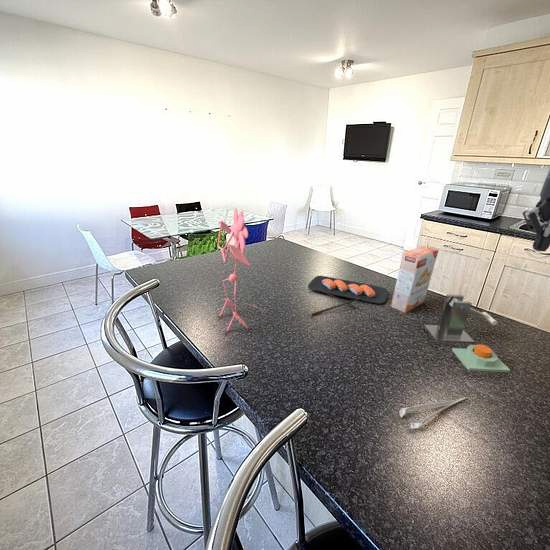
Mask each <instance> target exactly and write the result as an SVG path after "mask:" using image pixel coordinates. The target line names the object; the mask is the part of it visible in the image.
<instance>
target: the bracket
mask: <svg viewBox="0 0 550 550" xmlns="http://www.w3.org/2000/svg"><path fill="white" fill-rule="evenodd" d="M453 298H456V299H459V300H461V301H454V303H453V306H452V307H451V306H450V305H449V303H450V302H451V301H452V299H453ZM472 305H473V303H472V302H471V301H464V295H463V294H446V296H445V299H444V302H443V306H442V310H441V312H440V313H441V314H440V316H439V320H438V323H437V325H436V324H423V326H424V328H425V329H426V330H427V331H428V334H430V335H431V337H432V338H433V339H434V341H435V342H450V343H472V344H473V343H474V344H475V343H476V340H474V339H473V338H472V337H471V336H470V335H469V334H468V333H467V332H466V331H465V329H464V328H465V327H466V326H465V325H466V323H467V319H468V316H469V313H470V312H469V311H470V308H472Z"/></svg>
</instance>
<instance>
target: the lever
mask: <svg viewBox="0 0 550 550" xmlns="http://www.w3.org/2000/svg"><path fill="white" fill-rule="evenodd" d="M454 301H461V300H459V299H456V298H453V299H452V301H451V302H450V303H449V305H450V306H451V307H452V306H453V303H454ZM469 313H471V314H472V315H475V316H477V317H480V318H482V319H483V320H484V319H485V320H486V321H487V322H488V323H490V324H491V326H496V325H497V324H498V321H497V320H496V319H494V318H493V316H491V315H490V314H489V313H488V312H486V311H482V312H481V311H479V310H476V309H474V308H472V307H471V308H470V311H469Z"/></svg>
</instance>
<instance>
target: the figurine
mask: <svg viewBox="0 0 550 550" xmlns="http://www.w3.org/2000/svg"><path fill="white" fill-rule="evenodd" d="M232 215H233V217H232V219H233V221H232V222H233V224H231V225H230V226H229V225H228V224H227V223H226V222H224V221H223V220H219V230H218V231H219V232H218V237H217V244H216V246H217V249H220V252H221V255H222V260H223V263H224V264H225V265H226V264H227V261H228V256H229V257H230V258H232V259H233V260H235V264H234V270H233V271H234V272H233V273H231V274H230V275H229V276H228V278H225V279H223V280H222V284H223V289H224V292H225V296H226V297H225V298H224V300H223V301H224V302H225V303H224V305H223V307H222V310H221V312H220V314H219V317H222V316H223V313H224V312H225V309H226V307H227V306H228V307H229V308H231V309H232V314H233V316H232V318H231V321H230V322H229V325H228V327H227V329H226V331H227V332H229V330H230V329H231V326H232V324H233V322H234V321H235V319H236V320H237V321H238V323H240V325H242V326H243V328H245V329H246V330H249V327H248V325H247V324H246V323H245V321H244V320H243V319H242V318H241V316H240V315H239V314H238V312H237V293H236V291H237V282H238V280H239V276H238V275H237V274H236V272H237V266H238V262H240V263H241V264H243V265H244V266H246V267H248V268H251V265H250V262H249V261H248V259H247V258H246V256H245V255H244V254H245V250H246V239H247V238H249V230H248V229H247V227H246V226H245V222H246V221H245V218H244V211H243V210H240V211H239V213H238V209H237V207H236V208H234V209H233V214H232ZM222 230H223V231H225V233H227V234H228V235H230V237H229V238H228V240H227V242H226V244H225V245H224V247H223V248H222V247H221V246H220V242H221V236H222ZM232 239H233V241H234V245H232V244H230V242H231V240H232ZM230 252H231V253H232V254H230ZM226 281H229V282H230V283H233V284H234V291H233V292H234V293H233V298H234V304H233V302H231V300H230V299H229V295H228V293H227V288H226V284H225V282H226ZM243 304H245V305H247V303H246V302H243ZM248 305H249V306H252V307H255V308H257V309H259V310H260V311H262V309H261V308H259V307H257V304H256V305H255V304H250V303H248ZM264 315H265V316H267V314H265V313H264ZM230 342H232V340H229V343H230Z"/></svg>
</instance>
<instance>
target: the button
mask: <svg viewBox="0 0 550 550" xmlns="http://www.w3.org/2000/svg"><path fill="white" fill-rule="evenodd" d="M475 345H476V346H475V349H474V353H475V354H476V355H478V356H480V357H483V358H490V356H491V353H492V351H493V350H492V348H491V347H489V346H487V345H485V344H481V343H480V344H479V343H478V344H475Z"/></svg>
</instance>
